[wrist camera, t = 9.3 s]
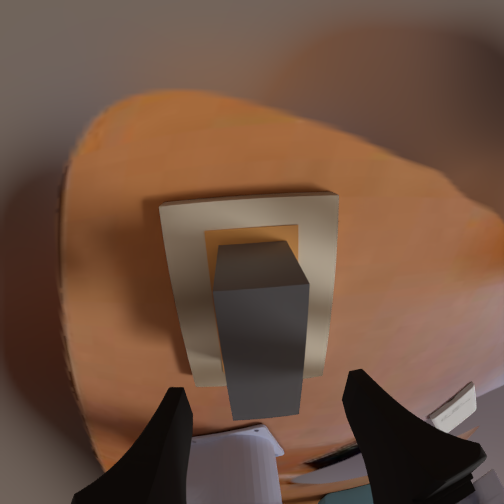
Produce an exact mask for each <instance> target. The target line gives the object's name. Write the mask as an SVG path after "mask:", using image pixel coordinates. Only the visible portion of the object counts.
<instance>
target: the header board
mask: <svg viewBox="0 0 504 504" xmlns="http://www.w3.org/2000/svg"><path fill="white" fill-rule="evenodd" d="M338 209H339V195H337V194H335V193H333V192H303V193H278V194H259V195H242V196H228V197H215V198H203V199H192V200H182V201H172V202H164V203H163V204H161V205H160V206H159V212H160V219H161V226H162V233H163V239H164V245H165V251H166V257H167V263H168V269H169V274H170V279H171V285H172V290H173V295H174V300H175V304H176V309H177V314H178V318H179V323H180V327H181V331H182V335H183V340H184V344H185V348H186V352H187V356H188V359H189V363H190V367H191V371H192V374H193V378H194V382H195V385H196V387H213V386H227V383H226V377H225V371H224V365H223V359H222V353H221V346H220V340H219V333H218V326H217V319H216V312H215V305H214V298H213V285H214V276H215V268H216V261H217V253H218V245H231V244H245V243H260V242H274V241H287V243H288V244H289V246H290V248H291V250H292V252H293V254H294V255H295V257H296V259H297V261H298V263H299V265H300V266H301V268H302V270H303V272H304V274H305V276H306V278H307V280H308V281H309V283H310V289H309V307H308V323H307V337H306V349H305V360H304V371H303V379H305V378H311V377H318V376H322V375H323V369H324V363H325V356H326V350H327V342H328V335H329V327H330V319H331V310H332V301H333V290H334V279H335V267H336V252H337V235H338Z"/></svg>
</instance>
